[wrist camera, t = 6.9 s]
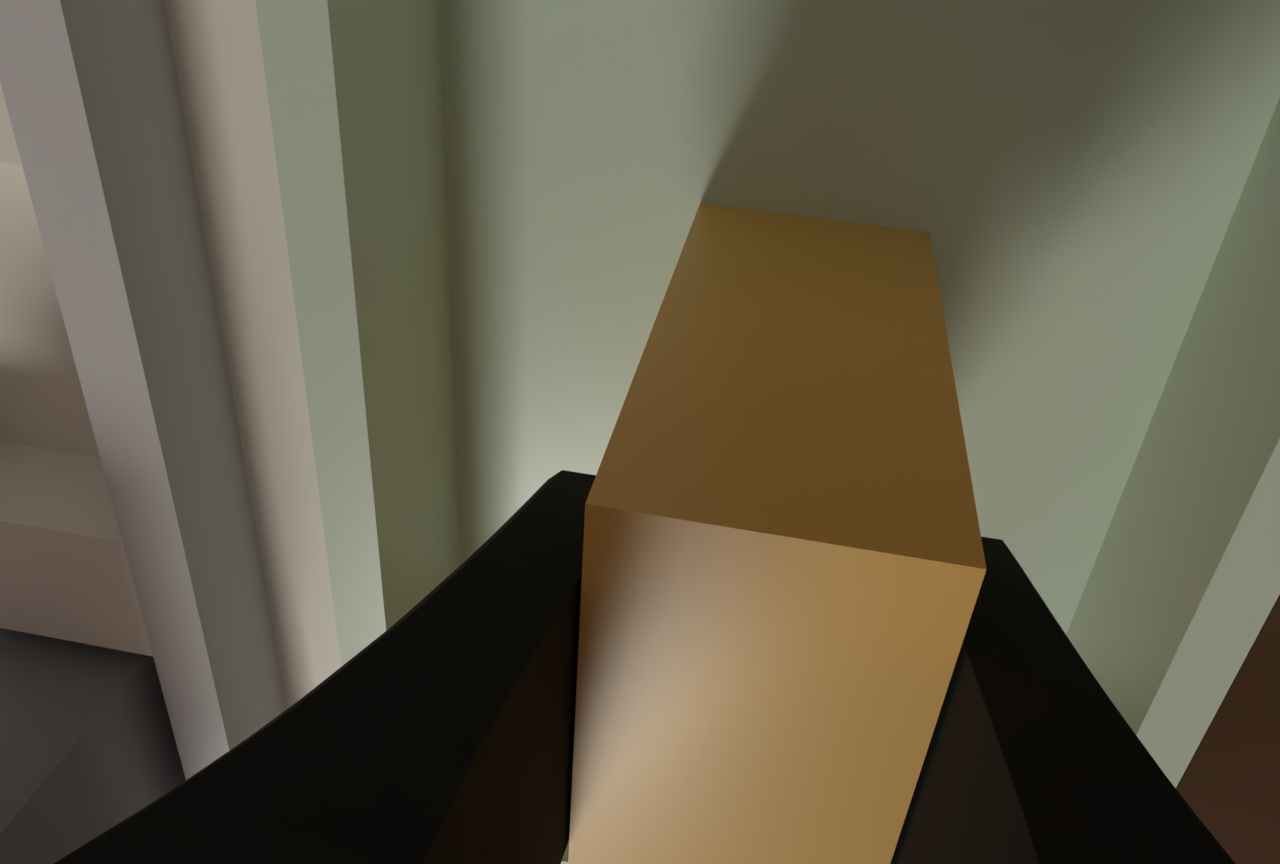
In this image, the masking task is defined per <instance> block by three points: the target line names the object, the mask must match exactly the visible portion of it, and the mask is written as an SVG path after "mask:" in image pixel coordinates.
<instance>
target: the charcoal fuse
mask: <svg viewBox="0 0 1280 864" xmlns="http://www.w3.org/2000/svg"><path fill="white" fill-rule="evenodd" d="M185 780H186V778H185V774H184V771H183V767H182V763H181V759H180V756H179V752H178V748H177V744H176V741H175V737H174V733H173V729H172V726H171V722H170V718H169V714H168V711H167V707H166V703H165V699H164V696H163V692H162V688H161V684H160V681H159V677H158V673H157V669H156V666H155V662H154V658H153V656H147V655H142V654H137V653H131V652H126V651H121V650H116V649H110V648H105V647H100V646H94V645H89V644H84V643H78V642H73V641H68V640H63V639H57V638H52V637H47V636H41V635H36V634H31V633H25V632H20V631H15V630H10V629H4V628H0V864H54V863H55V862H57V861H59V860H60V859H62V858H63V857H65V856H67V855H68V854H70V853H71V852H73V851H75V850H76V849H78V848H79V847H81V846H83V845H84V844H86V843H88V842H89V841H91V840H92V839H94V838H96V837H97V836H99V835H100V834H102V833H104V832H105V831H107V830H108V829H110V828H112V827H113V826H115V825H116V824H118V823H120V822H121V821H123V820H125V819H126V818H128V817H129V816H131V815H133V814H134V813H136V812H137V811H139V810H141V809H142V808H144V807H145V806H147V805H149V804H150V803H152V802H154V801H155V800H157V799H158V798H160V797H161V796H163V795H164V794H166V793H167V792H169V791H171V790H172V789H174V788H175V787H177V786H178V785H180V784H181V783H183V782H184V781H185Z"/></svg>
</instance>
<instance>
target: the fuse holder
mask: <svg viewBox="0 0 1280 864" xmlns="http://www.w3.org/2000/svg"><path fill="white" fill-rule="evenodd" d="M0 628H4V629H10V630H15V631H20V632H25V633H31V634H36V635H41V636H47V637H52V638H57V639H63V640H68V641H73V642H78V643H84V644H89V645H94V646H100V647H105V648H110V649H116V650H121V651H126V652H131V653H137V654H142V655H147V656H153V658H154V662H155V666H156V669H157V673H158V677H159V681H160V684H161V688H162V692H163V696H164V699H165V703H166V707H167V711H168V714H169V718H170V722H171V726H172V729H173V733H174V737H175V741H176V744H177V748H178V752H179V756H180V759H181V763H182V767H183V771H184V774H185V778H186V780H187V779H188V778H190V777H191V776H193V775H194V774H196V773H197V772H199V771H200V770H202V769H203V768H205V767H206V766H208V765H209V764H211V763H212V762H213V761H215V760H216V759H218V758H219V757H221V756H222V755H224V754H225V753H227V752H228V751H230V750H231V749H233V748H234V747H235V746H237V745H238V744H240V743H241V742H242V741H244V740H245V739H247V738H248V737H249V736H251V735H252V734H254V733H255V732H257V731H258V730H259V729H261V728H262V727H263V726H265V725H266V724H268V723H269V722H270V721H272V720H273V719H274V718H276V717H277V716H278V715H280V714H281V713H282V712H284V711H285V710H287V709H288V708H289V707H291V706H292V705H293V704H295V703H296V702H297V701H299V700H300V699H301V698H303V697H304V696H305V695H307V694H308V693H309V692H310V691H312V690H313V689H314V688H315V687H317V686H318V685H319V684H320V683H322V682H323V681H324V680H325V679H327V678H328V677H329V676H330V675H332V674H333V673H334V672H335V671H337V670H338V669H339V668H340V667H341V659H340V651H339V643H338V636H337V628H336V620H335V612H334V605H333V597H332V589H331V581H330V574H329V566H328V558H327V550H326V543H325V535H324V527H323V519H322V512H321V504H320V496H319V488H318V481H317V473H316V465H315V457H314V450H313V442H312V434H311V426H310V419H309V411H308V403H307V395H306V388H305V380H304V372H303V364H302V357H301V349H300V341H299V333H298V326H297V318H296V310H295V302H294V295H293V287H292V279H291V271H290V264H289V256H288V248H287V240H286V233H285V225H284V217H283V209H282V202H281V194H280V186H279V178H278V171H277V163H276V155H275V147H274V140H273V132H272V124H271V116H270V109H269V101H268V93H267V85H266V78H265V70H264V62H263V54H262V47H261V39H260V31H259V23H258V16H257V8H256V0H0Z"/></svg>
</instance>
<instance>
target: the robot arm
mask: <svg viewBox="0 0 1280 864" xmlns="http://www.w3.org/2000/svg"><path fill="white" fill-rule="evenodd" d="M595 477H596V475H591V474H584V473H578V472H572V471H565V470H561V471H560V472H558V473H557V474H555V475H554V476H552V477H551V478H549V479H548V480H547V481H546V482H545V483H544V484H543V485H542V486H541V487H540V488H539V489H538V490H537V491H536V492H535V493H534V494H533V495H532V496H531V497H530V498H529V499H528V501H527V502H526V503H525V504H524V505H523V506H522V507H521V508H520V509H519V510H518V511H517V512H516V513H515V514H514V515H513V516H512V517H511V518H510V519H509V520H508V521H507V522H505V523H504V524H503V525H502V526H501V527H500V528H499V529H498V530H497V531H496V532H495V533H494V534H493V535H492V536H491V537H490V538H489V539H488V540H487V541H486V542H485V543H484V544H483V545H482V546H481V547H479V548H478V549H477V550H476V551H475V552H474V553H473V554H472V555H471V556H470V557H469V558H468V559H467V560H466V561H465V562H464V563H463V564H461V565H460V566H459V567H458V568H457V569H456V570H455V571H454V572H452V573H451V574H450V575H449V576H448V577H447V578H446V579H445V580H444V581H442V582H441V583H440V584H439V585H438V586H437V587H436V588H435V589H433V590H432V591H431V592H430V593H429V594H428V595H427V596H426V597H424V598H423V599H422V600H421V601H420V602H419V603H418V604H417V605H415V606H414V607H413V608H412V609H411V610H410V611H409V612H408V613H406V614H405V615H404V616H403V617H402V618H401V619H400V620H398V621H397V622H396V623H395V624H394V625H393V626H391V627H390V628H389V629H388V630H387V631H385V632H384V633H383V634H382V635H380V636H379V637H378V638H377V639H375V640H374V641H373V642H372V643H370V644H369V645H368V646H367V647H365V648H364V649H363V650H362V651H360V652H359V653H358V654H357V655H355V656H354V657H353V658H352V659H350V660H349V661H348V662H347V663H345V664H344V665H343V666H342V667H340V668H339V669H338V670H337V671H335V672H334V673H333V674H332V675H330V676H329V677H328V678H327V679H325V680H324V681H323V682H322V683H320V684H319V685H318V686H317V687H315V688H314V689H313V690H312V691H310V692H309V693H308V694H307V695H305V696H304V697H303V698H301V699H300V700H299V701H297V702H296V703H295V704H293V705H292V706H291V707H289V708H288V709H287V710H285V711H284V712H282V713H281V714H280V715H278V716H277V717H276V718H274V719H273V720H272V721H270V722H269V723H268V724H266V725H265V726H263V727H262V728H261V729H259V730H258V731H257V732H255V733H254V734H252V735H251V736H249V737H248V738H247V739H245V740H244V741H242V742H241V743H240V744H238V745H237V746H235V747H234V748H233V749H231V750H230V751H228V752H227V753H225V754H224V755H222V756H221V757H219V758H218V759H216V760H215V761H213V762H212V763H211V764H209V765H208V766H206V767H205V768H203V769H202V770H200V771H199V772H197V773H196V774H194V775H193V776H191V777H190V778H188V779H187V780H185V781H184V782H183V783H181V784H180V785H178V786H177V787H175V788H174V789H172V790H171V791H169V792H167V793H166V794H164V795H163V796H161V797H160V798H158V799H157V800H155V801H154V802H152V803H150V804H149V805H147V806H145V807H144V808H142V809H141V810H139V811H137V812H136V813H134V814H133V815H131V816H129V817H128V818H126V819H125V820H123V821H121V822H120V823H118V824H116V825H115V826H113V827H112V828H110V829H108V830H107V831H105V832H104V833H102V834H100V835H99V836H97V837H96V838H94V839H92V840H91V841H89V842H88V843H86V844H84V845H83V846H81V847H79V848H78V849H76V850H75V851H73V852H71V853H70V854H68V855H67V856H65V857H63V858H62V859H60V860H59V861H57V862H55V863H54V864H561V861H562V858H563V856H564V853H565V850H566V847H567V844H568V841H569V833H570V812H571V791H572V770H573V749H574V729H575V708H576V687H577V666H578V645H579V624H580V603H581V582H582V561H583V540H584V519H585V503H586V501H587V498H588V495H589V493H590V490H591V487H592V485H593V482H594V480H595ZM981 540H982V546H983V551H984V557H985V563H986V573H985V576H984V579H983V582H982V585H981V588H980V591H979V594H978V597H977V600H976V603H975V606H974V609H973V612H972V615H971V618H970V621H969V625H968V628H967V631H966V634H965V637H964V640H963V643H962V646H961V649H960V652H959V655H958V658H957V661H956V664H955V667H954V670H953V674H952V677H951V680H950V683H949V686H948V689H947V692H946V695H945V698H944V701H943V704H942V707H941V710H940V713H939V716H938V719H937V722H936V726H935V729H934V732H933V735H932V738H931V741H930V744H929V747H928V750H927V753H926V756H925V759H924V762H923V765H922V768H921V771H920V775H919V778H918V781H917V784H916V787H915V790H914V793H913V796H912V799H911V802H910V805H909V808H908V811H907V814H906V817H905V820H904V823H903V827H902V830H901V833H900V836H899V839H898V842H897V845H896V848H895V851H894V854H893V857H892V860H891V863H890V864H1235V863H1234V861H1233V860H1232V859H1231V858H1230V856H1229V855H1228V854H1227V853H1226V851H1225V850H1224V849H1223V848H1222V847H1221V845H1220V844H1219V843H1218V842H1217V840H1216V839H1215V838H1214V837H1213V835H1212V834H1211V833H1210V832H1209V831H1208V829H1207V828H1206V827H1205V826H1204V824H1203V823H1202V822H1201V821H1200V819H1199V818H1198V817H1197V816H1196V814H1195V813H1194V812H1193V811H1192V809H1191V808H1190V807H1189V805H1188V804H1187V803H1186V801H1185V800H1184V799H1183V797H1182V796H1181V795H1180V794H1179V792H1178V791H1177V790H1176V788H1175V787H1174V786H1173V784H1172V783H1171V782H1170V781H1169V779H1168V778H1167V777H1166V775H1165V774H1164V773H1163V771H1162V770H1161V768H1160V767H1159V766H1158V764H1157V763H1156V762H1155V760H1154V759H1153V757H1152V756H1151V755H1150V753H1149V752H1148V751H1147V749H1146V748H1145V746H1144V745H1143V744H1142V742H1141V741H1140V740H1139V738H1138V737H1137V735H1136V734H1135V733H1134V731H1133V730H1132V729H1131V727H1130V726H1129V724H1128V723H1127V722H1126V720H1125V719H1124V718H1123V716H1122V715H1121V713H1120V712H1119V711H1118V709H1117V708H1116V707H1115V705H1114V704H1113V702H1112V701H1111V700H1110V698H1109V697H1108V695H1107V694H1106V692H1105V691H1104V690H1103V688H1102V687H1101V685H1100V684H1099V682H1098V681H1097V680H1096V678H1095V677H1094V675H1093V674H1092V672H1091V671H1090V669H1089V668H1088V667H1087V665H1086V664H1085V662H1084V661H1083V659H1082V658H1081V656H1080V655H1079V653H1078V652H1077V650H1076V649H1075V647H1074V646H1073V644H1072V643H1071V641H1070V640H1069V638H1068V637H1067V635H1066V634H1065V632H1064V631H1063V630H1062V628H1061V627H1060V625H1059V623H1058V622H1057V620H1056V619H1055V617H1054V616H1053V614H1052V613H1051V611H1050V610H1049V608H1048V607H1047V605H1046V604H1045V602H1044V601H1043V599H1042V598H1041V596H1040V595H1039V593H1038V592H1037V590H1036V589H1035V587H1034V586H1033V584H1032V582H1031V581H1030V579H1029V578H1028V576H1027V575H1026V573H1025V572H1024V570H1023V569H1022V567H1021V566H1020V564H1019V563H1018V561H1017V560H1016V558H1015V557H1014V555H1013V554H1012V553H1011V551H1010V550H1009V548H1008V547H1007V546H1006V544H1005V543H1004V541H1003V540H1000V539H994V538H988V537H981Z"/></svg>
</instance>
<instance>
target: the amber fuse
mask: <svg viewBox="0 0 1280 864" xmlns="http://www.w3.org/2000/svg"><path fill="white" fill-rule="evenodd" d="M985 573H986V563H985V557H984V551H983V546H982V540H981V534H980V528H979V522H978V516H977V510H976V504H975V498H974V492H973V486H972V481H971V475H970V469H969V463H968V457H967V451H966V445H965V439H964V433H963V427H962V421H961V416H960V410H959V404H958V398H957V392H956V386H955V380H954V374H953V368H952V362H951V356H950V351H949V345H948V339H947V333H946V327H945V321H944V315H943V309H942V303H941V297H940V291H939V286H938V280H937V274H936V268H935V262H934V256H933V250H932V244H931V238H930V232H924V231H916V230H908V229H900V228H892V227H884V226H876V225H869V224H861V223H853V222H845V221H837V220H829V219H821V218H814V217H806V216H798V215H790V214H782V213H774V212H766V211H759V210H751V209H743V208H735V207H727V206H719V205H711V204H704V203H700V205H699V207H698V210H697V212H696V215H695V218H694V220H693V223H692V225H691V228H690V231H689V233H688V236H687V239H686V241H685V244H684V246H683V249H682V252H681V254H680V257H679V260H678V262H677V265H676V267H675V270H674V273H673V275H672V278H671V281H670V283H669V286H668V288H667V291H666V294H665V296H664V299H663V301H662V304H661V307H660V309H659V312H658V315H657V317H656V320H655V322H654V325H653V328H652V330H651V333H650V336H649V338H648V341H647V343H646V346H645V349H644V351H643V354H642V356H641V359H640V362H639V364H638V367H637V370H636V372H635V375H634V377H633V380H632V383H631V385H630V388H629V391H628V393H627V396H626V398H625V401H624V404H623V406H622V409H621V411H620V414H619V417H618V419H617V422H616V425H615V427H614V430H613V432H612V435H611V438H610V440H609V443H608V446H607V448H606V451H605V453H604V456H603V459H602V461H601V464H600V466H599V469H598V472H597V474H596V477H595V480H594V482H593V485H592V487H591V490H590V493H589V495H588V498H587V501H586V503H585V519H584V540H583V561H582V582H581V603H580V624H579V645H578V666H577V687H576V708H575V729H574V749H573V770H572V791H571V812H570V833H569V854H568V864H890V863H891V860H892V857H893V854H894V851H895V848H896V845H897V842H898V839H899V836H900V833H901V830H902V827H903V823H904V820H905V817H906V814H907V811H908V808H909V805H910V802H911V799H912V796H913V793H914V790H915V787H916V784H917V781H918V778H919V775H920V771H921V768H922V765H923V762H924V759H925V756H926V753H927V750H928V747H929V744H930V741H931V738H932V735H933V732H934V729H935V726H936V722H937V719H938V716H939V713H940V710H941V707H942V704H943V701H944V698H945V695H946V692H947V689H948V686H949V683H950V680H951V677H952V674H953V670H954V667H955V664H956V661H957V658H958V655H959V652H960V649H961V646H962V643H963V640H964V637H965V634H966V631H967V628H968V625H969V621H970V618H971V615H972V612H973V609H974V606H975V603H976V600H977V597H978V594H979V591H980V588H981V585H982V582H983V579H984V576H985Z"/></svg>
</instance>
